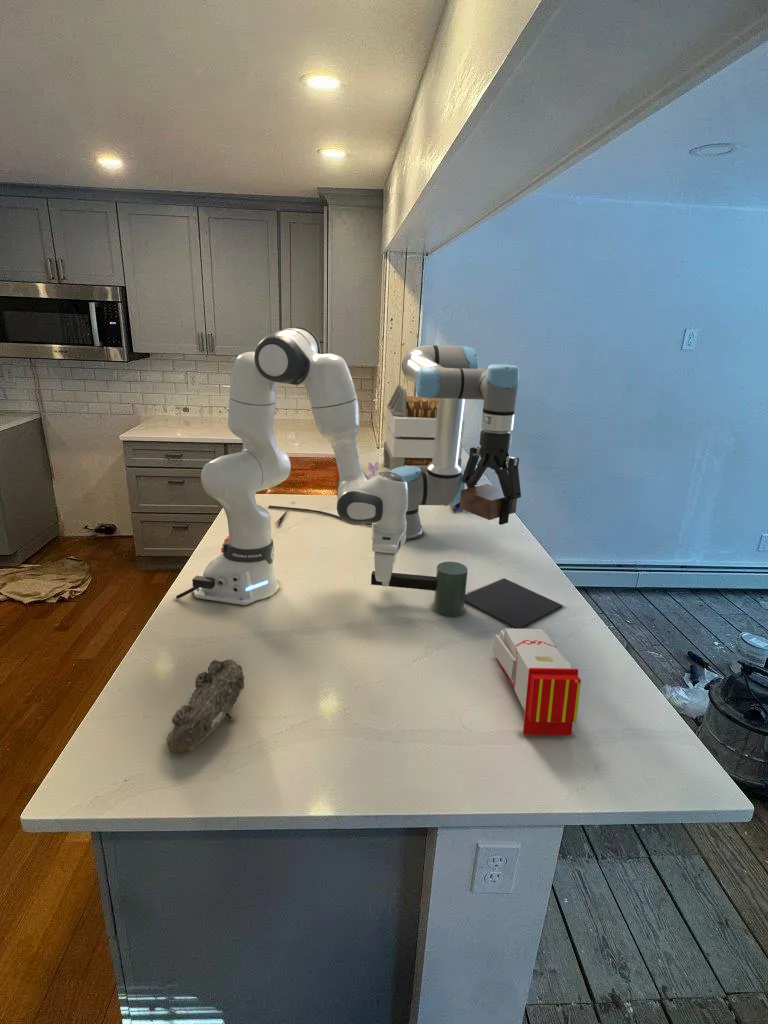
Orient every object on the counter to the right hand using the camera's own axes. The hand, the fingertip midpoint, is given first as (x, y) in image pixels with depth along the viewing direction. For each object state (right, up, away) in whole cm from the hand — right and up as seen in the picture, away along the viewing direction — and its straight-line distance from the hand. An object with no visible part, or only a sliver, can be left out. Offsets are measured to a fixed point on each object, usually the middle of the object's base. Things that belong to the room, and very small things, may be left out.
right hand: (486, 516), depth 144 cm
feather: (-63, 0, +69) cm, 93 cm away
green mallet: (-17, -24, +8) cm, 31 cm away
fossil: (-59, -38, -36) cm, 79 cm away
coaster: (+8, -24, +11) cm, 28 cm away
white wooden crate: (-9, +20, +131) cm, 132 cm away
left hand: (-26, -17, +7) cm, 32 cm away
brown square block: (0, +2, -1) cm, 2 cm away
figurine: (-30, +7, +92) cm, 97 cm away
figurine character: (+3, +3, +85) cm, 85 cm away
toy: (+4, -36, -25) cm, 44 cm away
